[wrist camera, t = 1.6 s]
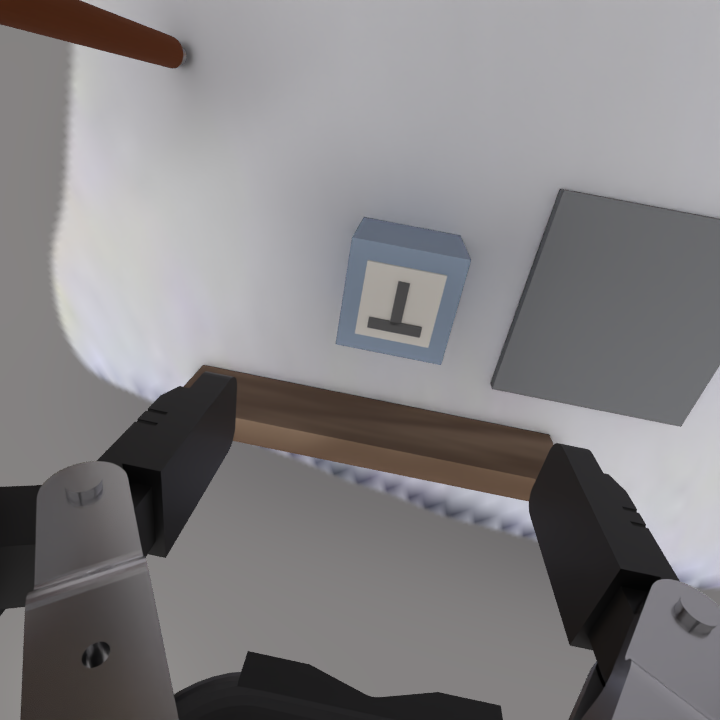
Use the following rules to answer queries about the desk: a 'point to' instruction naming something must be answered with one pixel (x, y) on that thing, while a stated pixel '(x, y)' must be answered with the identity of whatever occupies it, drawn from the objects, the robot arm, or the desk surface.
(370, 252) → the letter cube
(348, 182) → the desk surface
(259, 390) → the bar
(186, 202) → the desk surface
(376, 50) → the desk surface
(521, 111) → the desk surface
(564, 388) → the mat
